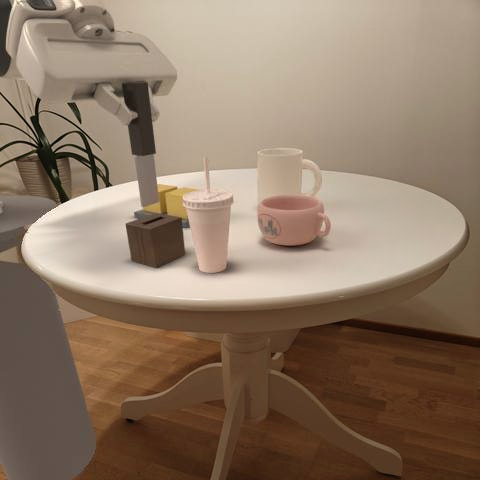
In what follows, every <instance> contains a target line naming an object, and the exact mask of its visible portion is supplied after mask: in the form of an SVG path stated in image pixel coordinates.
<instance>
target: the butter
mask: <svg viewBox="0 0 480 480" xmlns="http://www.w3.org/2000/svg"><path fill="white" fill-rule="evenodd" d="M157 186H158V195H159V202H158V203H155V204H152V205H148V206H145V207H142V209H143V211H147V212H153V213H160V214H163V213H166V212H167V214H168V215H171V216H176V217H181V218H183V219H188V215H187V210H186V207H184V206H183V196H184V195H185V194H187V193H190V192H193V191H199V190H200V189H198V188H190V187H186V186H185V187H184V186H183V187H181V188H178V186H176V185H171V184H170V185H168V184H162V183H157Z"/></svg>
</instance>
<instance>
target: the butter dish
mask: <svg viewBox="0 0 480 480" xmlns="http://www.w3.org/2000/svg"><path fill="white" fill-rule="evenodd" d="M151 214H154V213H153V212H147V211H143V208H142V209H139V210H136V211H133V216H134V218H136V219H140V218H143V217H146V216H149V215H151ZM163 214H166V215H168V214H167V212H166V213H163ZM182 225H183V229H184V228H185V229H187V228H190V224H189V220H188V219H183V218H182Z"/></svg>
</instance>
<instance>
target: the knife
mask: <svg viewBox="0 0 480 480" xmlns="http://www.w3.org/2000/svg"><path fill="white" fill-rule="evenodd" d="M122 89H123V96H124V99H123V102H124V103H125V104H127V103H131V105H132V106H133V108H134V110H136V112H137V113H138V118H137V120H136V122H135V124H132V125H127V131H128V136H129V137H128V138H129V144H130V150H131V155H132V156H134V163H135V171H136V177H137V184H138V192H139V198H140V199H139V200H140V206H141V207H142V208H143V207H145V206H148V205H152V204H155V203H158V202H159V195H158V186H157V184H158V179H157V170H156V162H155V155H156V154H157V150H156V142H155V141H156V140H155V134H154V124H153V123H154V122H152V115H151V106H150V98H149V89H148V83H147V82H136V83H122Z"/></svg>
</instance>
